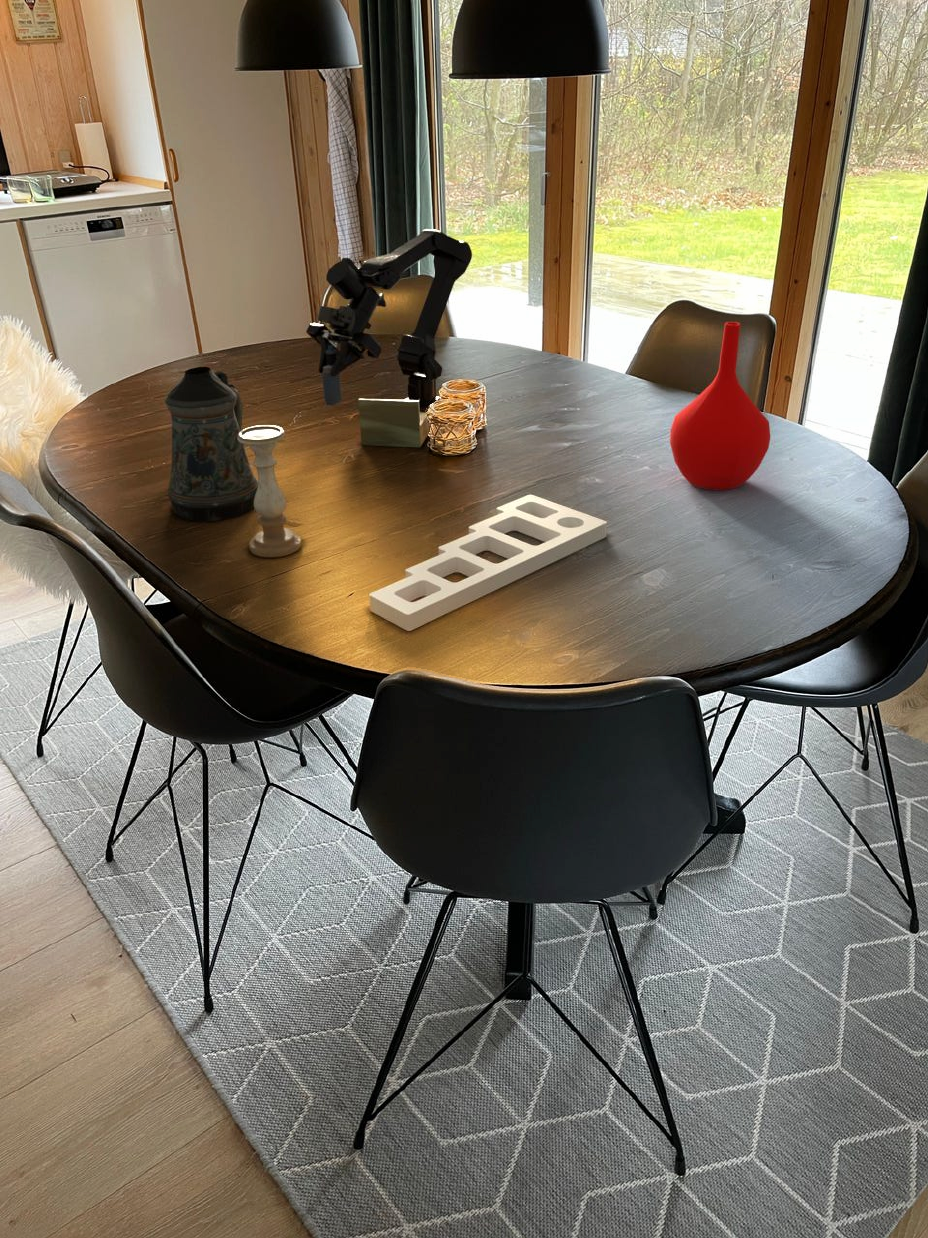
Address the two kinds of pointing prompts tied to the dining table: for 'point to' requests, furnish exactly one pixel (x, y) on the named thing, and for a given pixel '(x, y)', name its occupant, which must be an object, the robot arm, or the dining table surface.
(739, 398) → the vase
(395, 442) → the glossy olive-green box
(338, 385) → the vaping device
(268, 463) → the candle holder
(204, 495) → the beer stein
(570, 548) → the holder
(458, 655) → the dining table surface
